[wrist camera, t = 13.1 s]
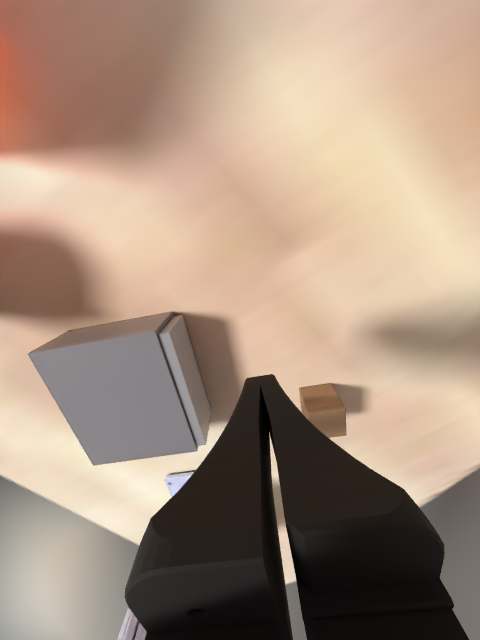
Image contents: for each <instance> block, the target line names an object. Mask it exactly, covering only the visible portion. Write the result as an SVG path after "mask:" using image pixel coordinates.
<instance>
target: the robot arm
mask: <svg viewBox="0 0 480 640" xmlns="http://www.w3.org/2000/svg"><path fill="white" fill-rule="evenodd" d="M269 432H270V436H271V440H272V444H273V448H274V452H275V457H276V461H277V466H278V473H279V480H280V487H281V494H282V502H283V509H284V516H285V522H286V528H287V533H288V538H289V543H290V548H291V553H292V558H293V564H294V569H295V574H296V580H297V586H298V592H299V599H300V605H301V611H302V617H303V620H304V625H305V630H306V635H307V640H469V639H468V637H467V635H466V633H465V632H464V630H463V628H462V626H461V624H460V623H459V621H458V619H457V617H456V615H455V614H454V612H453V611H452V608H453V607H454V604H453V601H452V599H451V597H450V595H449V594H448V592H447V590H446V588H445V587H444V585H443V584H442V582H441V580H440V573H441V568H442V564H443V559H444V544H443V542H442V541H441V538H440V537H439V535H438V533H437V532H436V530H435V529H434V527H433V526H432V524H431V523H430V521H429V520H428V519H427V517H426V516H425V515H424V513H423V512H422V511H421V510H420V508H419V507H418V506H417V504H416V503H415V502H414V501H413V500H412V498H411V497H410V496H409V495H408V494H407V492H406V491H405V490H404V489H403V488H401V487H400V486H398V485H396V484H395V483H393V482H391V481H390V480H388V479H386V478H385V477H383V476H381V475H380V474H378V473H376V472H375V471H373V470H372V469H370V468H368V467H367V466H366V465H364V464H363V463H361V462H360V461H358V460H357V459H355V458H354V457H352V456H351V455H350V454H349V453H347V452H346V451H345V450H343V449H342V448H341V447H339V446H338V445H337V444H335V443H334V442H333V441H331V440H330V439H329V438H328V437H327V436H326V435H324V434H323V433H322V432H321V431H320V430H319V429H318V428H317V427H315V426H314V425H313V424H312V423H311V422H310V421H309V420H308V419H307V418H306V417H305V416H304V415H303V414H302V413H301V411H300V410H299V409H298V408H297V407H296V406H295V405H294V404H293V402H292V401H291V400H290V399H289V397H288V396H287V395H286V393H285V392H284V391H283V389H282V388H281V386H280V385H279V383H278V381H277V380H276V378H275V376H274V375H273V374H270V375H264V376H257V377H251V378H247V379H246V380H245V383H244V387H243V390H242V393H241V395H240V398H239V400H238V403H237V405H236V407H235V410H234V412H233V414H232V416H231V418H230V420H229V422H228V424H227V425H226V427H225V429H224V431H223V432H222V434H221V436H220V437H219V439H218V441H217V442H216V444H215V445H214V447H213V448H212V449H211V451H210V452H209V454H208V455H207V457H206V458H205V459H204V461H203V462H202V463H201V465H200V466H199V467H198V468H197V469H196V471H195V472H188V473H181V474H173V475H167V476H166V477H165V483H166V485H167V487H168V490H169V492H170V494H171V496H172V498H171V499H170V500H169V501H168V502H167V503H166V504H165V505H164V506H163V507H162V508H161V509H160V510H159V511H158V512H157V513H156V514H155V515H154V516H153V517H152V518H151V519H150V522H149V524H148V527H147V529H146V531H145V534H144V536H143V538H142V541H141V543H140V546H139V549H138V552H137V555H136V558H135V561H134V564H133V567H132V570H131V573H130V576H129V579H128V582H127V585H126V588H125V599H126V602H127V604H128V606H129V608H128V610H127V613H126V616H125V619H124V622H123V625H122V628H121V631H120V634H119V637H118V640H293V637H292V630H291V623H290V616H289V609H288V601H287V595H286V587H285V580H284V573H283V565H282V558H281V551H280V543H279V536H278V529H277V521H276V514H275V506H274V498H273V490H272V477H271V457H270V438H269Z"/></svg>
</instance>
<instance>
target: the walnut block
mask: <svg viewBox="0 0 480 640" xmlns="http://www.w3.org/2000/svg"><path fill="white" fill-rule="evenodd" d="M299 391H300V400H301V408H302V414H303V415H304V416H305V417H306V418H307V419H308V420H309V421H310V422H311V423H312V424H313V425H314V426H315V427H317V428H318V429H319V430H320V431H321V432H322V433H323V434H324V435H326V436H327V437H328V438H330V437H337V436H345V435H346V409H345V406H344V405H343V403H342V401H341V400H340V398H339V396H338V395H337V393H336V391H335V390H334V388H333V386H332V385H331V383H329V384H323V385H316V386H310V387H303V388H299Z"/></svg>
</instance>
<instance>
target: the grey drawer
mask: <svg viewBox="0 0 480 640" xmlns="http://www.w3.org/2000/svg"><path fill="white" fill-rule="evenodd" d="M159 337H160V340H161V343H162V346H163V349H164V352H165V355H166V357H167V360H168V363H169V366H170V369H171V372H172V375H173V378H174V380H175V383H176V386H177V389H178V392H179V395H180V398H181V401H182V403H183V406H184V409H185V412H186V415H187V418H188V421H189V424H190V427H191V429H192V432H193V435H194V438H195V441H196V444H197V446H200V445H206V441H207V435H208V429H209V423H210V417H211V409H210V406H209V403H208V399H207V396H206V393H205V389H204V386H203V382H202V379H201V376H200V372H199V369H198V366H197V362H196V359H195V356H194V352H193V349H192V345H191V342H190V339H189V335H188V332H187V329H186V325H185V322H184V319H183V315H178V316H174V317H173V318H172V319H171V320H170V321H169V323H168V324H167V325H166V326H165V327H164V329H163V330H162V331H161V332H160V333H159Z"/></svg>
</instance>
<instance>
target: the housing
mask: <svg viewBox="0 0 480 640" xmlns="http://www.w3.org/2000/svg"><path fill="white" fill-rule="evenodd" d="M173 317H174V316H173V312H167V313H162V314H156V315H151V316H145V317H140V318H135V319H129V320H124V321H118V322H113V323H107V324H102V325H97V326H91V327H86V328H80V329H75V330H69V331H67V332H66V333H64V334H62V335H60V336H58V337H57V338H55V339H53V340H51V341H49V342H48V343H46V344H44V345H42V346H40V347H39V348H37V349H35V350H33V351H31V352H30V353H28V356H29V357H30V359H31V361H32V362H33V364H34V366H35V367H36V369H37V371H38V373H39V374H40V376H41V378H42V379H43V381H44V383H45V384H46V386H47V388H48V389H49V391H50V393H51V395H52V396H53V398H54V400H55V401H56V403H57V405H58V406H59V408H60V410H61V412H62V413H63V415H64V417H65V418H66V420H67V422H68V423H69V425H70V427H71V429H72V430H73V432H74V434H75V435H76V437H77V439H78V440H79V442H80V444H81V446H82V447H83V449H84V451H85V452H86V454H87V456H88V457H89V459H90V461H91V463H92V464H93V465H100V464H108V463H115V462H122V461H129V460H137V459H144V458H151V457H158V456H166V455H173V454H180V453H187V452H195V451H197V449H198V446H197V444H196V441H195V438H194V435H193V432H192V429H191V427H190V424H189V421H188V418H187V415H186V412H185V409H184V406H183V403H182V401H181V398H180V395H179V392H178V389H177V386H176V383H175V380H174V378H173V375H172V372H171V369H170V366H169V363H168V360H167V357H166V355H165V352H164V349H163V346H162V343H161V340H160V337H159V333H160V332H161V331H162V330H163V329H164V327H165V326H166V325H167V324H168V323H169V321H170V320H171V319H172V318H173Z"/></svg>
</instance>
